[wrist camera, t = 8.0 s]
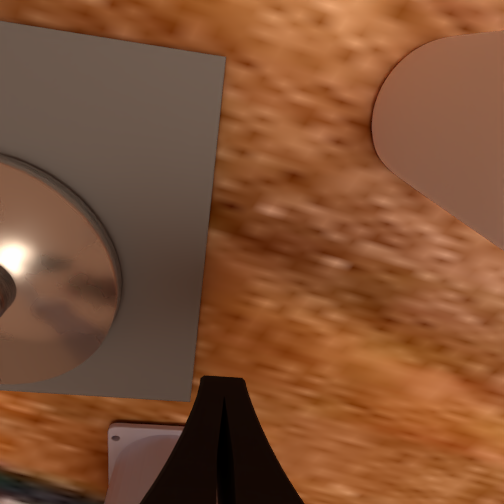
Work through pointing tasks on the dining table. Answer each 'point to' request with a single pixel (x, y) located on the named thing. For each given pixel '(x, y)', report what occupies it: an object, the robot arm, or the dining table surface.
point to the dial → (50, 276)
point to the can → (449, 127)
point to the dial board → (124, 186)
